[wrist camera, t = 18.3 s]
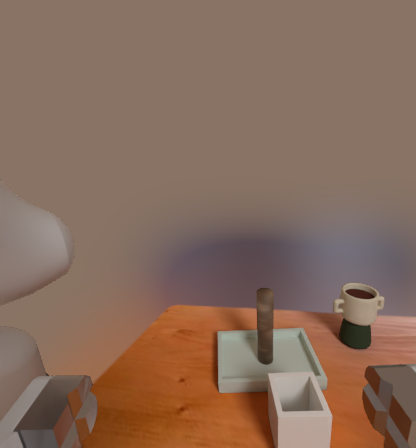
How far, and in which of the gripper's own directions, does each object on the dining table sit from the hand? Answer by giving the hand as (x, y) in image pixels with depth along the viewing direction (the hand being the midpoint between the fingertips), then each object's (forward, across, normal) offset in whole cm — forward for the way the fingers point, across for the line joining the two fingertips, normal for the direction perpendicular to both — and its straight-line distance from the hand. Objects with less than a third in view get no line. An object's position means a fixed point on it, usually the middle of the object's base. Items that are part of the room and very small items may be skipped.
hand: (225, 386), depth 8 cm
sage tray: (+39, -8, +38) cm, 55 cm away
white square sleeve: (+24, -10, +38) cm, 46 cm away
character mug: (+44, -29, +38) cm, 65 cm away
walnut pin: (+39, -8, +37) cm, 55 cm away
